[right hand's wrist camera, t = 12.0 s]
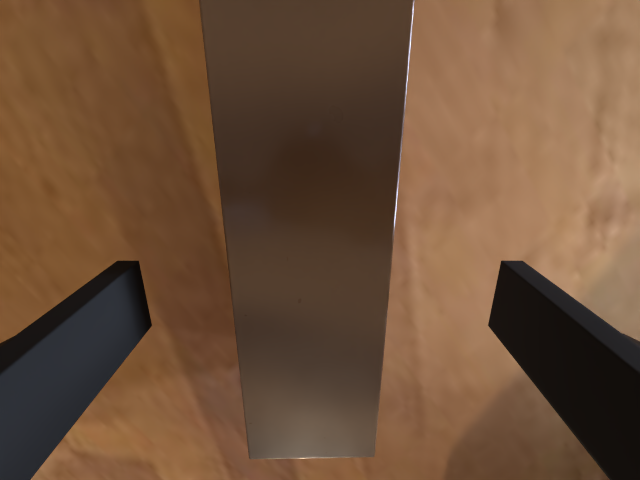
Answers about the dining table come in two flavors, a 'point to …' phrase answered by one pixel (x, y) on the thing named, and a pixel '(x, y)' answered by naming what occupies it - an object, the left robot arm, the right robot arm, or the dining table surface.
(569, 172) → the dining table surface
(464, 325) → the dining table surface
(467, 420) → the dining table surface
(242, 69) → the bar
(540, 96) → the dining table surface
